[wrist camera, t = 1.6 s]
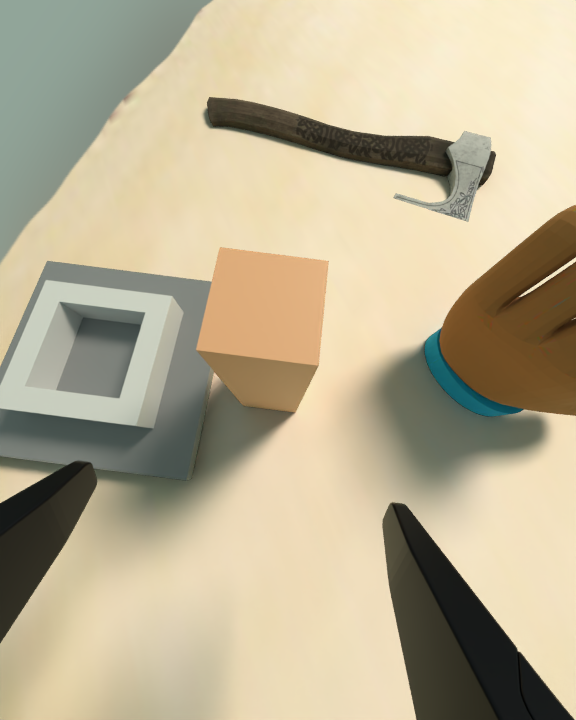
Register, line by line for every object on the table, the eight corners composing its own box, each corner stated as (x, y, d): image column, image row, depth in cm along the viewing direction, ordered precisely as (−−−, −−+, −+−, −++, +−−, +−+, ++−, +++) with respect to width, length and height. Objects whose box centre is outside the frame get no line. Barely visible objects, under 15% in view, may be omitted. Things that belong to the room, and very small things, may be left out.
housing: (191, 478, 20) (173, 485, 16) (-19, 451, 20) (-83, 452, 17) (230, 291, 24) (222, 265, 21) (57, 269, 24) (20, 239, 21)
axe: (218, 62, 30) (504, 136, 28) (224, 89, 32) (486, 159, 30) (177, 152, 28) (478, 238, 26) (186, 173, 31) (462, 253, 29)
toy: (569, 407, 22) (1084, 336, 8) (514, 465, 21) (1021, 503, 7) (456, 298, 25) (696, 98, 11) (400, 343, 24) (590, 181, 9)
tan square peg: (295, 412, 22) (318, 365, 9) (243, 405, 22) (195, 349, 9) (301, 362, 23) (328, 261, 10) (251, 356, 23) (219, 247, 10)
